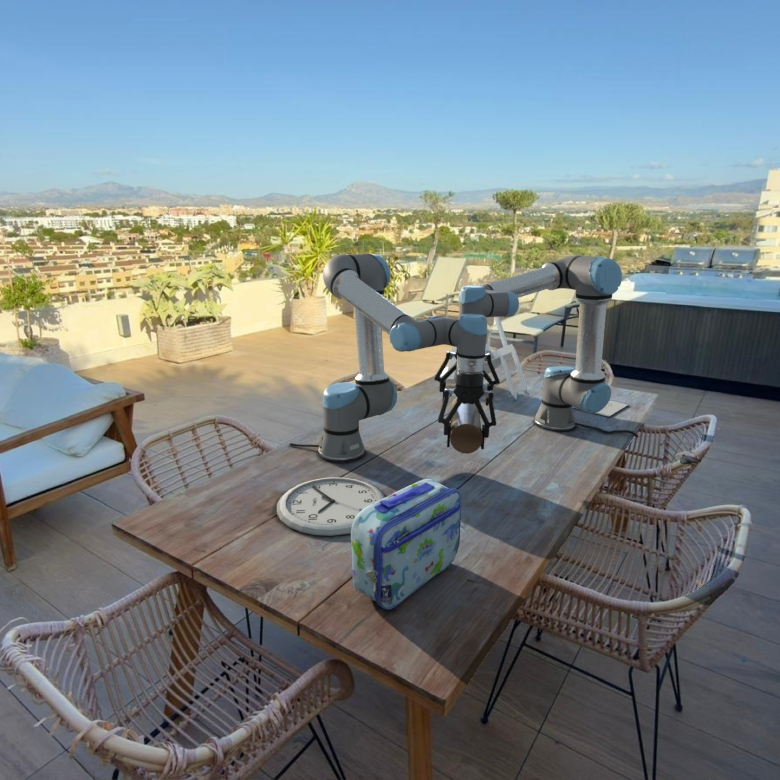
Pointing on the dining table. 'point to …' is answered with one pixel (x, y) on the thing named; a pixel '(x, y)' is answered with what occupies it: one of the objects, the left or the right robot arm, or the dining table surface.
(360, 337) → the left robot arm
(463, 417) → the rod
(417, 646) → the dining table surface
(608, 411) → the invitation card
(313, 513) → the wall clock
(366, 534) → the lunch box
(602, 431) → the right robot arm
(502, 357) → the white plastic object
